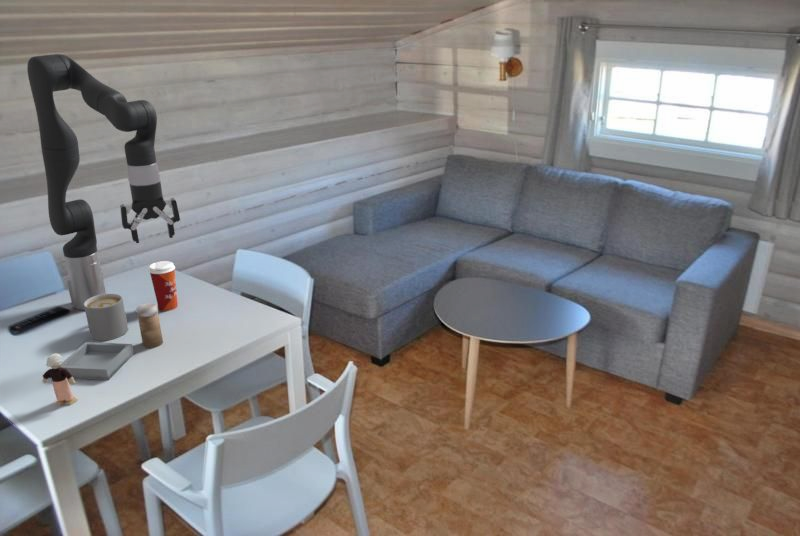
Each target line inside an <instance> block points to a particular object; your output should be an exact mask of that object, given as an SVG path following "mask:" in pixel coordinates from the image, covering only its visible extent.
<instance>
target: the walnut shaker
mask: <svg viewBox="0 0 800 536" xmlns="http://www.w3.org/2000/svg"><path fill="white" fill-rule="evenodd" d="M135 311H136V315H137V319H138V325H139V329H140V335H141V336H140V337H141V342H142V346H143V348H145V349H154V348H157V347H160V346H162V345H163V343H164V340H163V334H162V328H161V322H160V321H161V320H160V316H159V307H158V304H157V303H154V302H153V303H152V302H148V303H142V304H140V305H138V306H136V308H135Z"/></svg>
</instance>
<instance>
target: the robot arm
mask: <svg viewBox="0 0 800 536" xmlns="http://www.w3.org/2000/svg"><path fill="white" fill-rule="evenodd" d="M26 70H27V76H28V81H29V86H30V91H31V93H32V99H33V102H34V106H35V111H36V116H37V123H38V130H39V139H40V147H41V148H40V149H41V153H42V160H43V166H44V171H45V178H46V186H47V187H46V189H47V206H48V210H47V211H48V218H49V223H50V225H51V228H52V230H53V231H54V233H55V234H57V236H66V235H67V236H68V235H72V234H75V233H76V234H75V235H74V237H72V238H71V239H70V240H69V241H67V242H66V243H65V244H64V245H63V247H62V252H63V256H64V261H65V266H66V270H67V275H68V278H66V284H67V288H68V293H69V297H70V301H71V305H72V308H76V309H77V310H79V311H80V310H81V311H85V308H84V302H85V301H86V300H88V299H89V298H91V297H94V296H97V295H101V294H107V292H106V291H107V290H106V286H105V282H104V276H103V272H102V266H101V261H100V257H99V252H98V246H97V245H98V244H97V243H98V242H97V233H96V227H95V221H94V215H93V210H92V208H91V206H90V204H89V203H88V202H87V201H86V200H84V199H81V198H80V199H79V198H78V199H75V200H70V201H66V198H67V192H68V189H69V188H68V187H69V186H70V183H71V182H72V180H73V178H74V177H75V176H74V175H75V174H76V171H77V169H78V168H79V165H80V164H79V163H80V160H81V159H80V158H81V157H80V149H79V142H78V141H79V140H78V136H77V135H76V134H75V132H74V130H73V129H72V128H71V126H69V124H68V123H67V122H66V121H65V120H64V118H63V117H62V116H61V115H60V113H59V111H58V110H57V108H56V104H55V100H54V92H59V91H60V92H61V91H68V90H69V89H71V90H76V91H78V92H80V93H81V94H80V95H81V97H82V100H83V101H84V103H86V105H87V106H88V107H89V108H91V109H93V111H96V112H97V113H99V114H101V115H103V116H104V117H105V118H106V119H107V120H108V121H109V122H110V123H111V125H112V126H113V127H114V128H115V129H116V130H118V131H121V132H125V133H131V132H135V135H134V137H133V138H132V139H130V140H128V141H126V142H125V144H124V153H125V160H126V164H127V177H128V178H127V179H128V184H129V188H130V194H131V195H130V196H131V200H132V201H131V204H129V205H128V204H126V205H125V204H121V205H120V207H119V208H120V209H119V210H120V216H121V225H122V228H123V229H124V230H127V229H128V230H129V231H130V233H131V238H132V241H133V242H135V243H136V244H139V243H140V241H139V240H140V239H139V233H138V230H137V228H138V226H139V224H140V223H141V222H142V220H145V221H146V220H151V219H153V220H154V219H158V218H159V217H160V218H161V219H163V220H164V221H165V222H167V223H166V226H167V234H168V237H169V239H173V238H174V236H175V234H176V233H175V226H174V224H175V223H177V222H180V221H181V217H180V212H179V208H178V202H177V200H176V199H175V198H173V197H171V198H170V199H167V200H164V197H163V189H162V182H161V177H160V176H161V175H160V170H159V167H158V164H157V156H156V151H155V150H156V149H155V140H156V134H157V126H158V125H157V124H158V116H157V112H156V109H155V107H154V105H152V104H151V102H150V101H148V100H144V99H139V100H132V101H131V100H130V101H128V100H127V98H126V97H125V95H124V94H122V93H121V92H120V91H117V90H116V89H114V88H112V87H110V86H109V85H106V84H105V83H103V82H102V81H100V80H98V79H97V78H96V77H94V76H93V75H92V74H90V72H88V71H87V70H86V69H84V68H83V66H81V65H80V64H79V63H77V62H76V61H75V60H73V58H71V57H69V56H68V55H65V54H58V53H56V54H46V55H43V54H42V55H36V56H31V57H30V58H29V59H28V62H27V68H26ZM167 206H168V207H169V208H170V209H171V211H172V214H173V216H171V217H170V216H169V215H168V214H167V213H166V212H165V208H166V207H167ZM131 210H132V211H133V212H135V214H134V216H133V220H132V221H131V223H129V222H128V214H130V213H131V212H130V211H131Z"/></svg>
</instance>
